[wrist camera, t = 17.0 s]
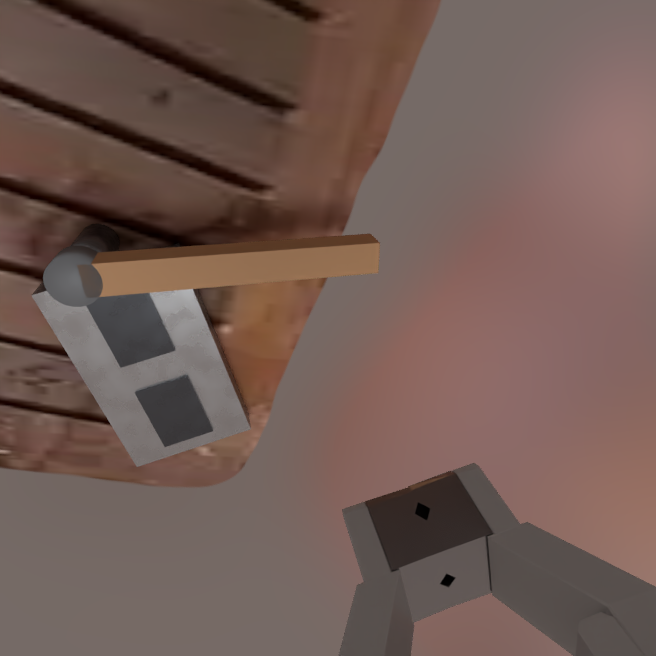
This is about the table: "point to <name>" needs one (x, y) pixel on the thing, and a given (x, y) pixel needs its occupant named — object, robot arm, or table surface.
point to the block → (149, 363)
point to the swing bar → (204, 266)
